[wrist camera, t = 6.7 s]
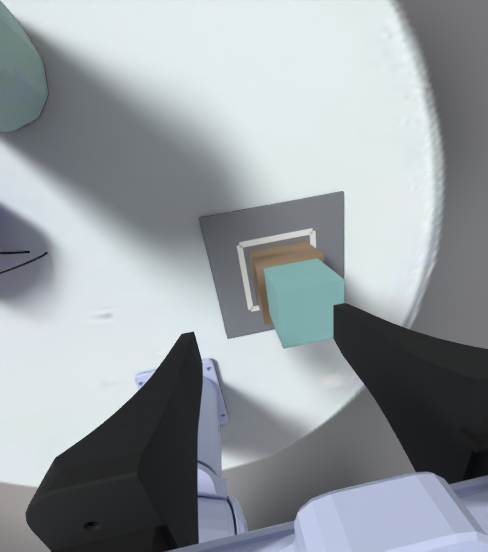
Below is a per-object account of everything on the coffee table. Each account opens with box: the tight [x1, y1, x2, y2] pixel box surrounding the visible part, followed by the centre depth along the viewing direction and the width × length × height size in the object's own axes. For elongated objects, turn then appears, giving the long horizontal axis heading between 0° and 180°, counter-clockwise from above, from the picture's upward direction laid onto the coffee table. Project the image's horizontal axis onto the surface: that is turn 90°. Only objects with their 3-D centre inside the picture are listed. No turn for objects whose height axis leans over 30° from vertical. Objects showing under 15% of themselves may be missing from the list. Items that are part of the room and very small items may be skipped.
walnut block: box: [249, 240, 324, 325], centre depth 21 cm, size 5×5×4 cm
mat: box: [199, 191, 344, 339], centre depth 22 cm, size 12×12×1 cm
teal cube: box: [264, 258, 344, 349], centre depth 17 cm, size 4×4×4 cm
